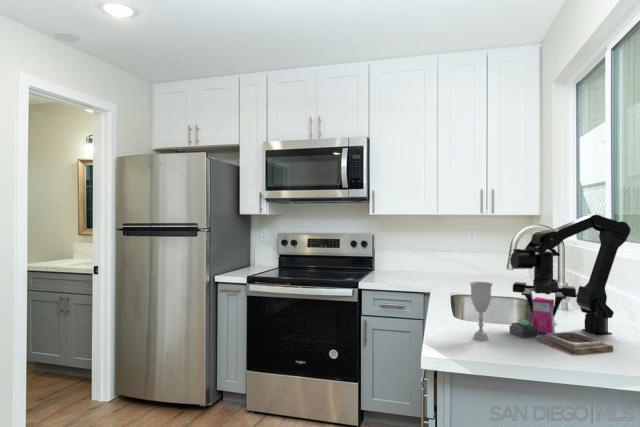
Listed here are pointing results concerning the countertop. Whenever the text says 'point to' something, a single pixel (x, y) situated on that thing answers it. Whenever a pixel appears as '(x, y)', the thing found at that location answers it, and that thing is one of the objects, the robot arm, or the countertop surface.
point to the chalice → (481, 305)
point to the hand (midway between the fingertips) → (543, 314)
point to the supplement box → (543, 315)
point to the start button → (523, 322)
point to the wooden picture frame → (584, 347)
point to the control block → (523, 330)
